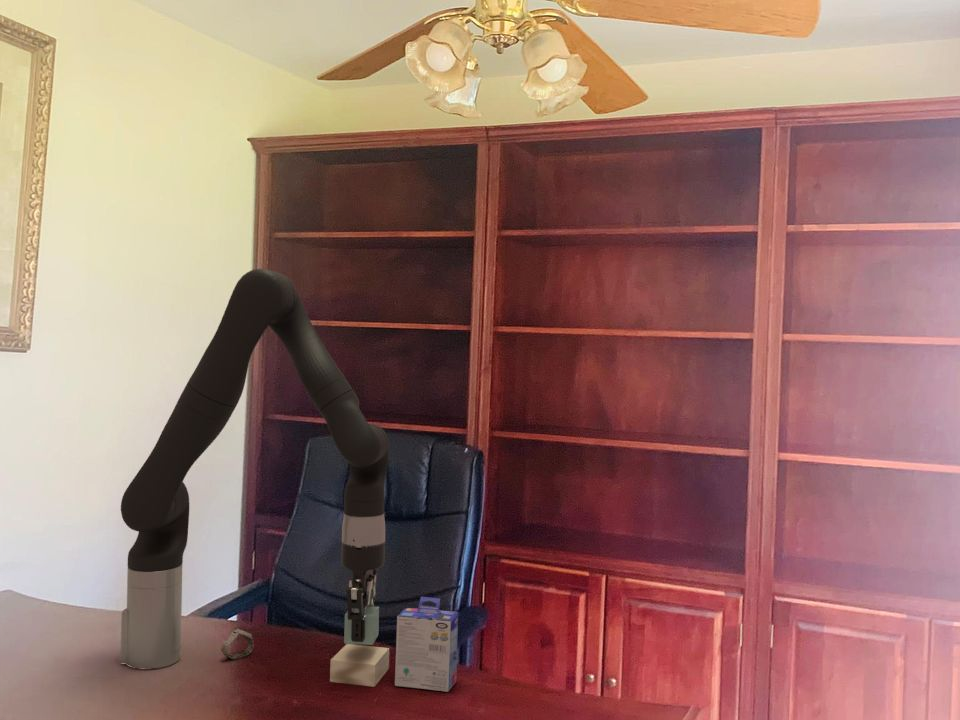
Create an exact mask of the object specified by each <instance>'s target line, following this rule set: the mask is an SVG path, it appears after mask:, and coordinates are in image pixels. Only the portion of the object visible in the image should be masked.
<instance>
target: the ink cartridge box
mask: <svg viewBox="0 0 960 720" xmlns="http://www.w3.org/2000/svg"><path fill="white" fill-rule="evenodd" d="M427 602H432V603H434V604H435V606H432V605H431V606H429V605H423V603H427ZM440 606H441V598H439V597H431V596H430V597H428V596H420V599H419V603H418V607H417V608H413V607H412V608H411V607H406V608H404V609H403V610H402V611H401V612H400V613H399V614H398V615H397V616H396V637H395V669H394V670H395V671H394V672H395V673H394V686H395V687H402V688H403V687H404V688H411V689H422V690H429V691H438V692H440V691H441V692H446V693H448V692H450V690H451V689H452V688H453V687H454V686H455V684H456V682H457V671H458V669H457V665H458V664H457V662H458V635H459V634H458V632H459V631H458V629H459V625H458V624H459V612H458V611H452V610H450V611H449V610H440Z"/></svg>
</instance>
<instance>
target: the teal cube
mask: <svg viewBox="0 0 960 720" xmlns="http://www.w3.org/2000/svg"><path fill="white" fill-rule="evenodd" d="M355 613H359V609H357V608H355ZM347 616H348V610H347V611H346V612H345V613H344V626H343V627H344V629H343V630H344V634H343V635H344V636H343V637H344V638H343V640H344V641H343V643H344V644H354V645H365V646H369V645H370V646H371V645H372V646H373V645H374V643H375V642H376V640H377V638H378V636H379V628H380V627H379V626H380V625H379V622H380V619H379V618H380V606H367V607H366V619H365V639H364V641H363V642H353V641H352V640H351V628H352V620H348V617H347Z"/></svg>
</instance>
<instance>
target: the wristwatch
mask: <svg viewBox="0 0 960 720" xmlns="http://www.w3.org/2000/svg"><path fill="white" fill-rule="evenodd" d="M238 636H240V637H242V638H244V639H245V640H246V642H247V643H246V644H247V645H246V646H247V647H246V649H245V650H244V651H242V652H236V653H229V652H228V651H229V647H230V645H232V643H233V642H234V641H235V640H236V638H238ZM254 647H255V645H254V637H253V635H252V634H251V633H249V632H247V631H244V630H242V629H239V628H236V629H233V630H232V631H231V633H230V635H229V636H228V638H227V639H226V640H225V641H224V642H223V644H222V647H221V652H222V655H224V656H225V658H229V659H230V660H238V659H242V658H244V657H247V656H249V655H250V654H251V653H252V651H253V649H254Z"/></svg>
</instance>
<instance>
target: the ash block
mask: <svg viewBox="0 0 960 720" xmlns="http://www.w3.org/2000/svg"><path fill="white" fill-rule="evenodd" d="M329 664H330V666H329V668H330V669H329V682H330V683H339V684H347V685H355V686H356V685H357V686H365V687H376V686H377V684H378V683H379V682H380V680H381V679H382V678H383V677H384V675H386V673H387V672H388V670H389V669H390V648H389V647H382V646H381V647H380V646H373V645H372V646H371V645H370V646H369V645H365V644H347V643H345V645H344V646H343V647H342V648H341V649H340V650H339V651H338V652H337V653H336V654H335V655H334V656H333V657H332V658H330V662H329Z"/></svg>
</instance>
